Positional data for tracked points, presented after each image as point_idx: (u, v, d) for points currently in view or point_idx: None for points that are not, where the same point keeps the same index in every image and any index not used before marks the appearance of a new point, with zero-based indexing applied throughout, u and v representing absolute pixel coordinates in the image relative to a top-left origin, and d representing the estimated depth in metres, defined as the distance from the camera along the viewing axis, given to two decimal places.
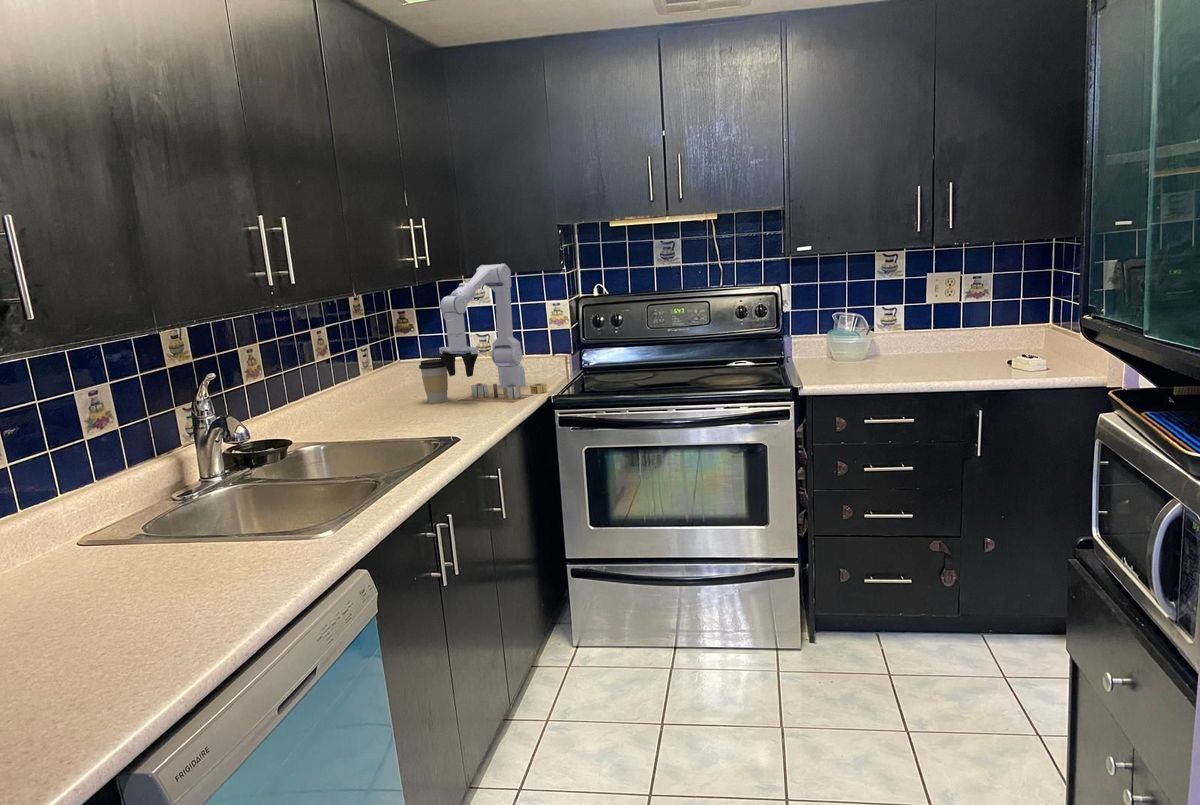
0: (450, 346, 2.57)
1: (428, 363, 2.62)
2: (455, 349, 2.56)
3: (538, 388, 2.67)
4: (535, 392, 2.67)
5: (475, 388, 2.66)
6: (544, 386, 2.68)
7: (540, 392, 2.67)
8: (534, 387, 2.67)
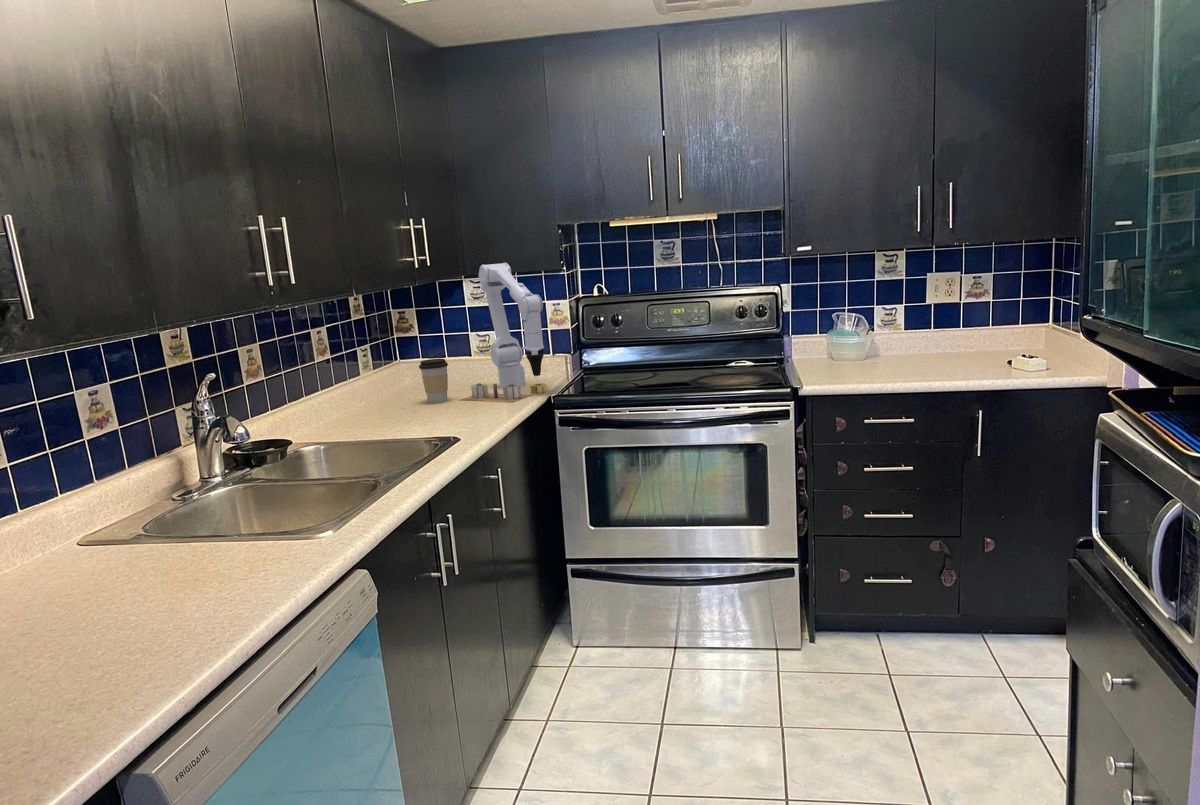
0: None
1: (428, 363, 2.62)
2: (526, 348, 2.65)
3: (538, 388, 2.67)
4: (535, 392, 2.67)
5: (475, 388, 2.66)
6: (544, 386, 2.68)
7: (540, 392, 2.67)
8: (534, 387, 2.67)
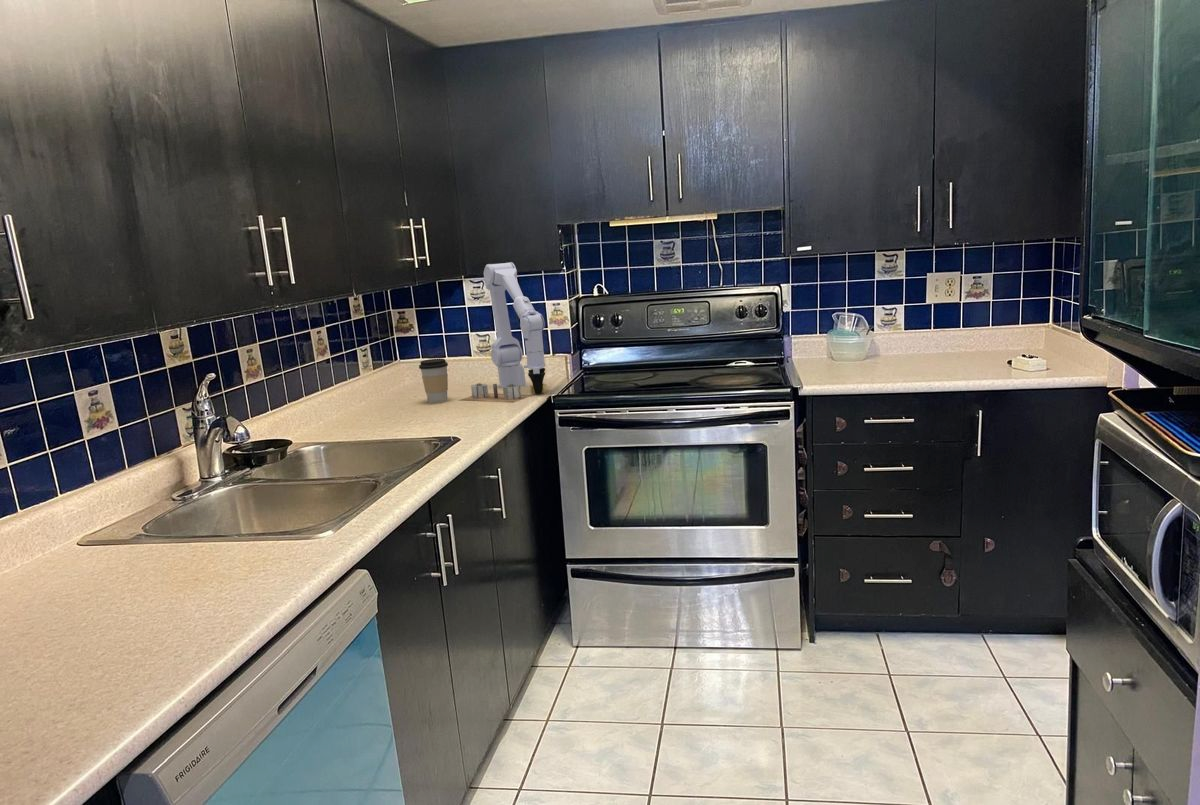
0: None
1: (428, 363, 2.62)
2: (527, 366, 2.66)
3: None
4: None
5: (475, 388, 2.66)
6: (544, 386, 2.68)
7: None
8: None
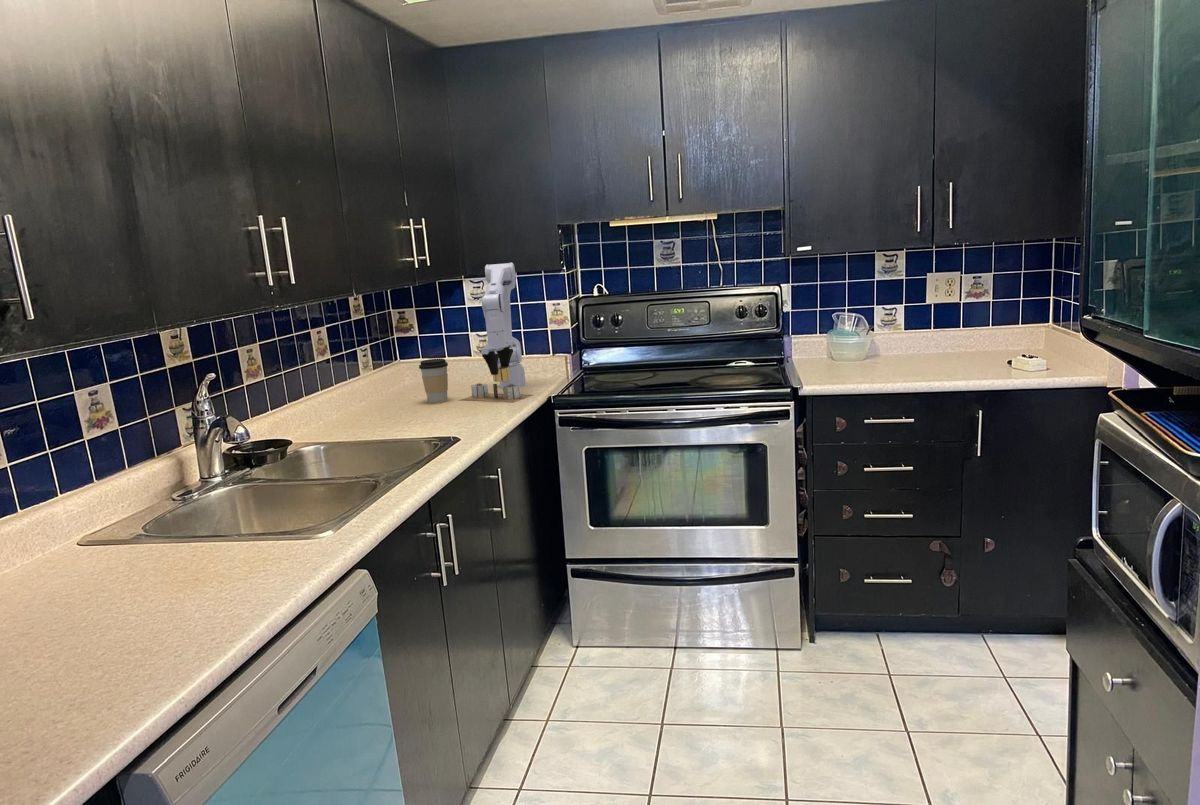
0: None
1: (428, 363, 2.62)
2: (487, 346, 2.63)
3: None
4: (494, 375, 2.63)
5: (475, 388, 2.66)
6: (503, 370, 2.62)
7: (498, 376, 2.62)
8: None
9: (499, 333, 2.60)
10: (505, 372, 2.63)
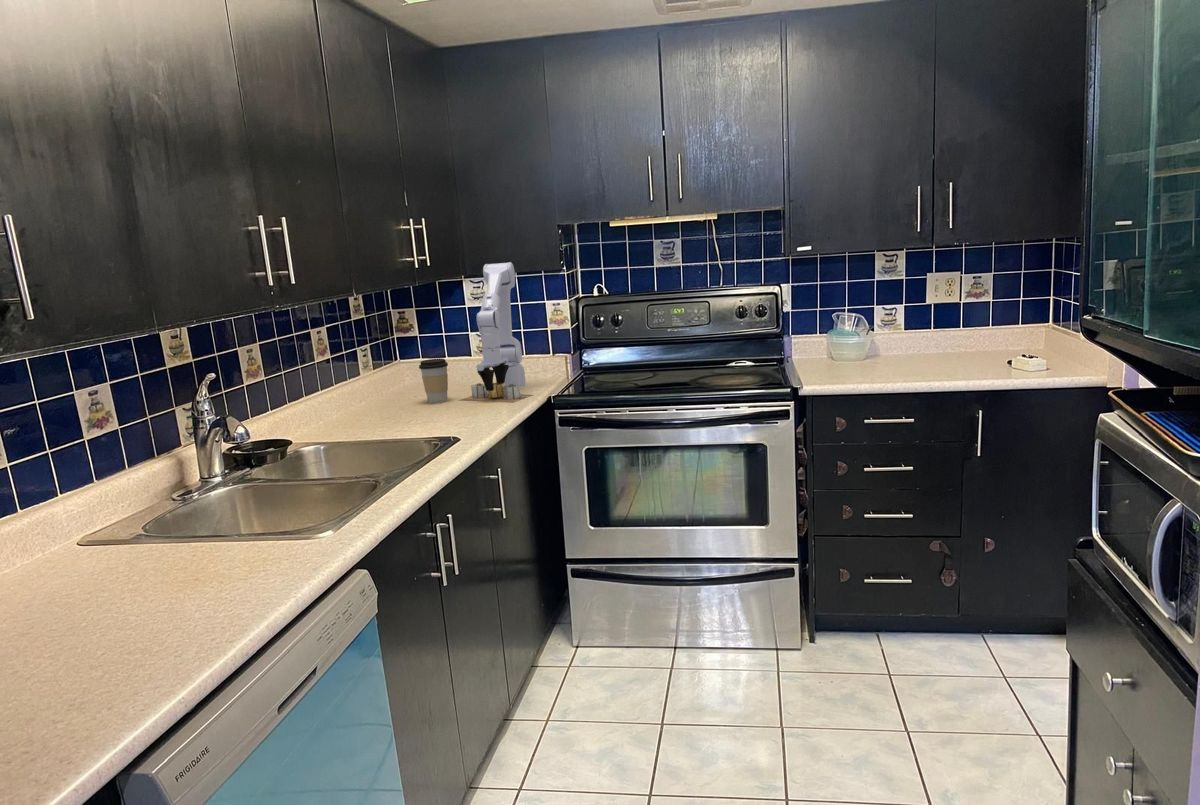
0: None
1: (428, 363, 2.62)
2: (483, 362, 2.64)
3: None
4: (490, 391, 2.64)
5: (475, 388, 2.66)
6: (499, 386, 2.63)
7: (494, 392, 2.63)
8: None
9: (494, 349, 2.60)
10: (500, 388, 2.63)
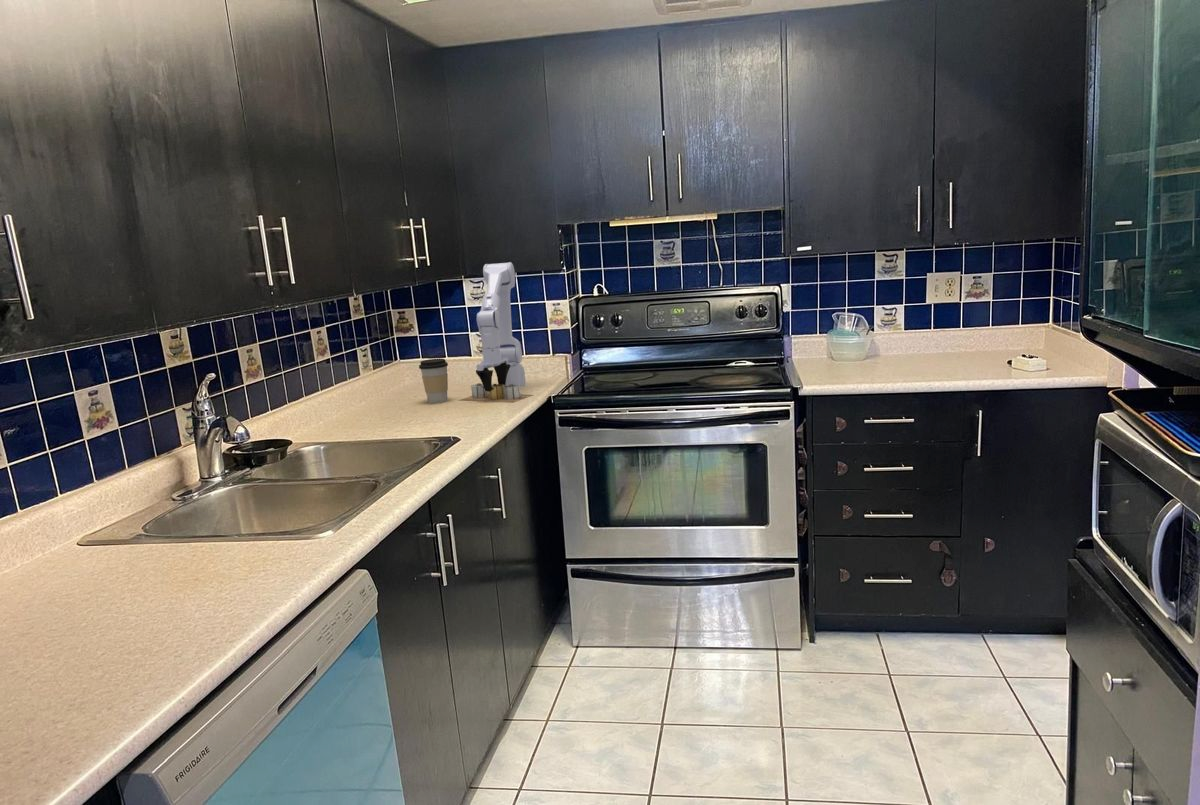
0: None
1: (428, 363, 2.62)
2: (483, 362, 2.64)
3: (492, 389, 2.63)
4: (490, 393, 2.64)
5: (475, 388, 2.66)
6: (499, 387, 2.63)
7: (494, 393, 2.63)
8: None
9: (494, 349, 2.60)
10: (501, 390, 2.63)
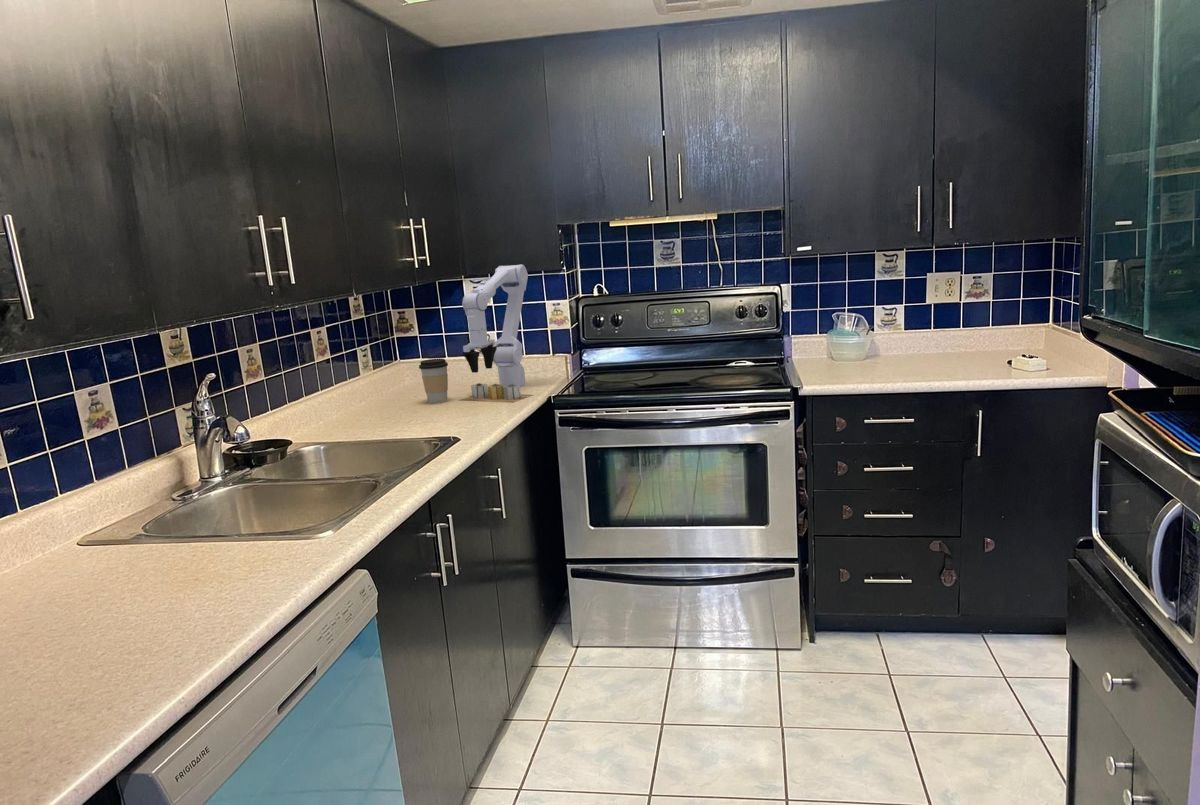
0: None
1: (428, 363, 2.62)
2: (470, 344, 2.69)
3: (492, 389, 2.63)
4: (490, 393, 2.64)
5: (475, 388, 2.66)
6: (499, 387, 2.63)
7: (494, 393, 2.63)
8: (489, 388, 2.63)
9: (481, 331, 2.65)
10: (501, 390, 2.63)
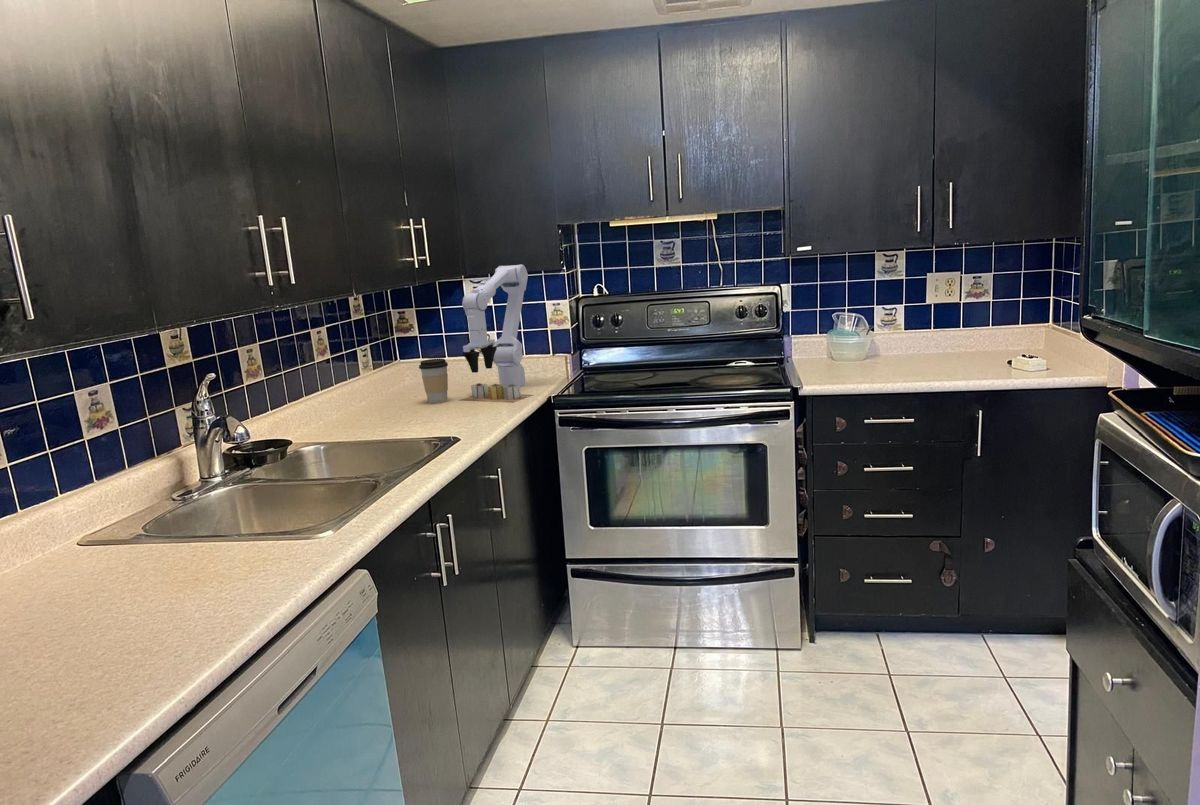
0: None
1: (428, 363, 2.62)
2: (470, 344, 2.69)
3: (492, 389, 2.63)
4: (490, 393, 2.64)
5: (475, 388, 2.66)
6: (499, 387, 2.63)
7: (494, 393, 2.63)
8: (489, 388, 2.63)
9: (481, 331, 2.65)
10: (501, 390, 2.63)
